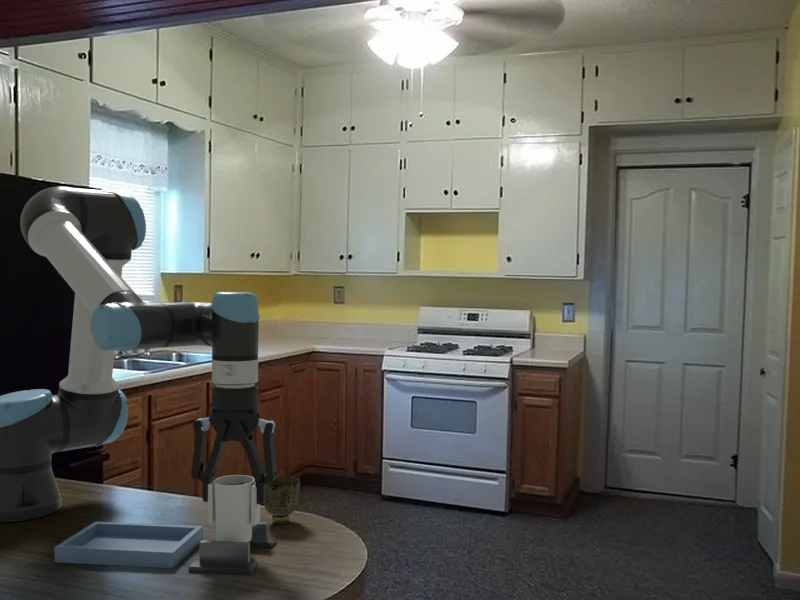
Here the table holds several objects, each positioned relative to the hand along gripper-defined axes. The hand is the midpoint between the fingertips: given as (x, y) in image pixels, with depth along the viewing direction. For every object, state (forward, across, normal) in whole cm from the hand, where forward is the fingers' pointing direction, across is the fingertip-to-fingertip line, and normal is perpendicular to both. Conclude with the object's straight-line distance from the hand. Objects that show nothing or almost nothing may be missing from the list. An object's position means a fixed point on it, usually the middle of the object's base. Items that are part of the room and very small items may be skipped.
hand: (234, 521), depth 125 cm
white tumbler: (+3, 0, 0) cm, 3 cm away
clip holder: (+6, 0, 0) cm, 6 cm away
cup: (+6, +3, +18) cm, 19 cm away
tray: (+6, -18, 0) cm, 19 cm away
